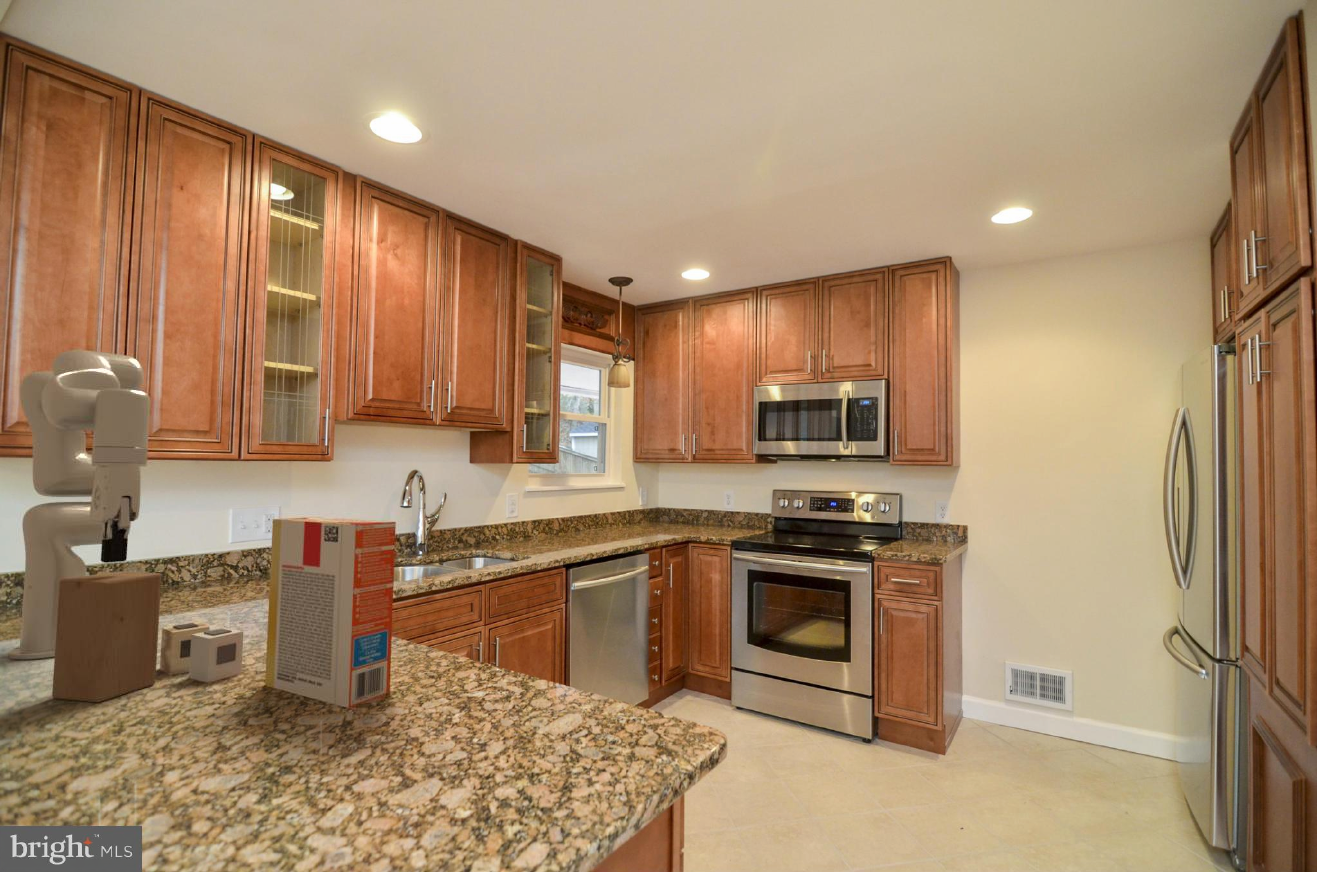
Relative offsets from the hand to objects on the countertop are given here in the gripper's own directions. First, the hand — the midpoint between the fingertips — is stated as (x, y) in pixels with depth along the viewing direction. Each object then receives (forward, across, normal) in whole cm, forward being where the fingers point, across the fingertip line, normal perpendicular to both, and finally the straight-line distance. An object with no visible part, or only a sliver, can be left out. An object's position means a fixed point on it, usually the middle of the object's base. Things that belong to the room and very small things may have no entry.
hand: (113, 561), depth 112 cm
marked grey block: (+23, +5, +15) cm, 28 cm away
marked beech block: (+23, -5, +13) cm, 27 cm away
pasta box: (+23, +29, +24) cm, 44 cm away
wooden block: (+23, 0, 0) cm, 23 cm away
